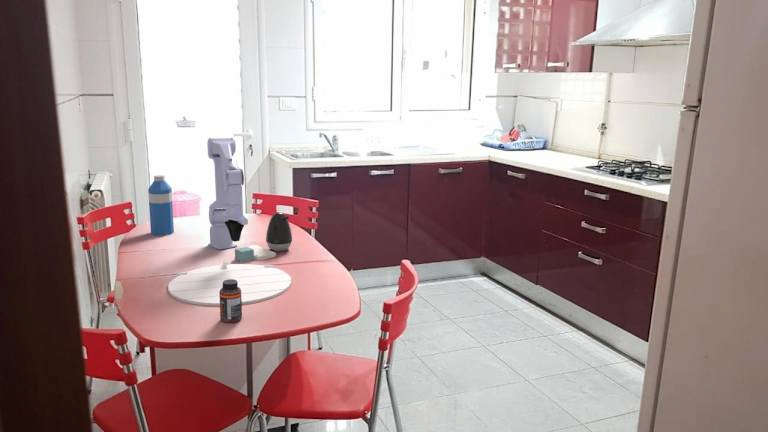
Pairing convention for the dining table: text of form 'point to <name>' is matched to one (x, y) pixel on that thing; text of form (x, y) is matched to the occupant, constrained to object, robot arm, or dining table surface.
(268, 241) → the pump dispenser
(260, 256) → the white slotted box
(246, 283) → the lazy susan
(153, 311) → the dining table surface
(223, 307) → the supplement bottle
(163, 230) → the water bottle
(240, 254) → the pale blue cube
